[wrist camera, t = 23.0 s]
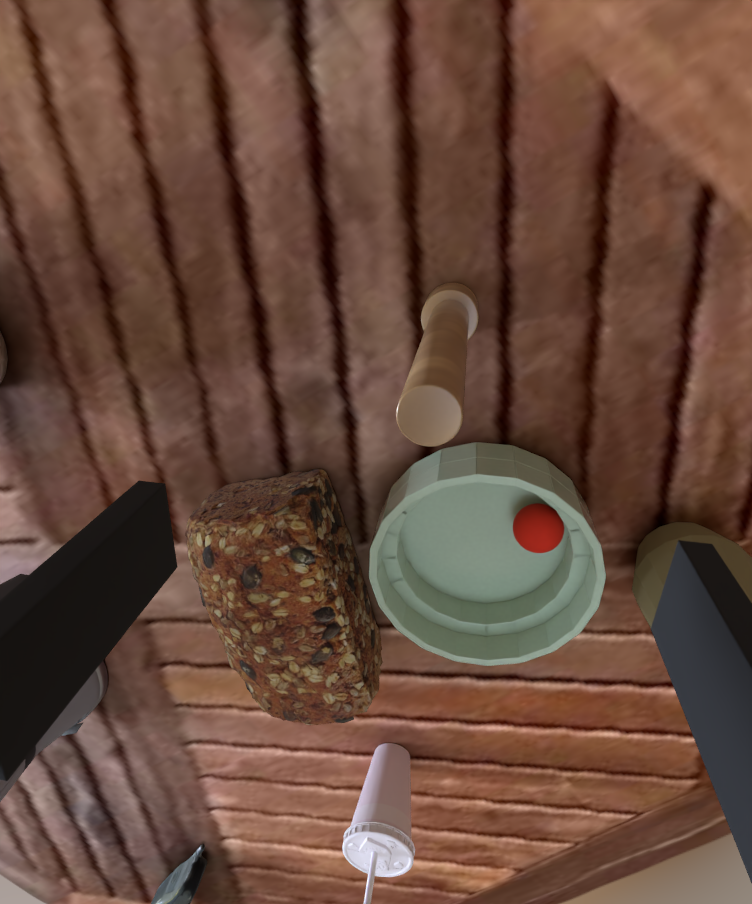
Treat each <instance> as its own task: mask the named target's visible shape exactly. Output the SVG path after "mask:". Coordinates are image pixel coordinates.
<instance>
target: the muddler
mask: <svg viewBox="0 0 752 904" xmlns="http://www.w3.org/2000/svg"><path fill="white" fill-rule="evenodd" d="M478 320H479V308H478V302H477V299H476V297H475V295H474V293H473V292H472V291H471V290H470V289H469V288H468V287H466V286H464V285H462V284H459V283H445V284H442V285H440V286H438V287H437V288H435V289H434V290H433V291H432V292H431V293H430V295H429V296H428V298H427V300H426V303H425V305H424V307H423V310H422V314H421V324H422V328H423V330H424V335H423V337H422V340H421V343H420V345H419V348H418V351H417V354H416V356H415V359H414V362H413V365H412V367H411V370H410V373H409V375H408V378H407V381H406V384H405V386H404V389H403V392H402V394H401V397H400V400H399V403H398V405H397V409H396V419H397V423H398V426H399V428H400V430H401V432H402V433H403V434H404V435H405V436H406V437H407V438H408V439H409V440H410V441H412V442H414V443H416V444H418V445H422V446H430V447H431V446H438V445H442V444H444V443H446V442H448V441H450V440H451V439H452V438H454V437H455V435H456V434H457V433H458V431H459V430H460V428H461V425H462V421H463V409H464V392H465V375H466V359H467V342H468V340H469V339H470V338H471V337H472V335H473V334H474V332H475V331H476V328H477V325H478Z"/></svg>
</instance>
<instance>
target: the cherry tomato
mask: <svg viewBox="0 0 752 904" xmlns="http://www.w3.org/2000/svg"><path fill="white" fill-rule="evenodd" d="M513 533H514V536H515V539H516V540H517V542H518V543H519V544H520V545H521V546H522V547H523V548H524V549H526V550H528V551H530V552H533V553H546V552H549V551H551V550H553V549H554V548H556V547H557V546H558V545H559V543H560V542H561V540H562V538H563V535H564V523H563V521H562V520H561V518H560V516H559V515H558V513H557V511H556V510H555V509H553V508H552V507H550V506H548V505H545V504H540V503H536V504H530V505H527V506H525V507H524V508H522V509H521V510H520V511H519V512H518V513H517V515H516V516H515V518H514V521H513Z"/></svg>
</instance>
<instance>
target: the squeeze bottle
mask: <svg viewBox="0 0 752 904" xmlns="http://www.w3.org/2000/svg"><path fill="white" fill-rule="evenodd" d="M678 540H681V541H690V542H699V543H708V544H713V546H714V547H715V549H716V550H717V552H718V553H719V555H720V556H721V558H722V559H723V561H724V562H725V564H726V565H727V567H728V568H729V570H730V571H731V573H732V574H733V576H734V577H735V579H736V580H737V582H738V583H739V585H740V586H741V588H742V589H743V591H744V592H745V594H746V595H747V597H748V598H749V600H750V601H751V603H752V558H751V557H750V556H749V555H748V554H747V553H746V552H745V551H744V550H743V549H742V548H741V547H740V546H739V545H738V544H736V543H735V542H733V541H731V540H729V539H727V538H725V537H723V536H721V535H719V534H717V533H715V532H714V531H712V530H710V529H708V528H705V527H703V526H700V525H698V524H695V523H692V522H674V523H670V524H667V525H663V526H660V527H658V528H657V529H655V530H654V531H652V532H651V533H649V534H648V535H646V537H645V538H644V539H643V541H642V542H641V544H640V545H639V547H638V552H637V558H636V565H635V572H634V579H633V586H632V590H633V593H634V596H635V598H636V601H637V604H638V606H639V608H640V610H641V611H642V613H643V615H644V617H645V618H646V620H647V622H648V624H649V626H650V627H651V626H652V623H653V620H654V617H655V613H656V610H657V607H658V604H659V601H660V597H661V594H662V591H663V588H664V584H665V581H666V578H667V575H668V572H669V568H670V565H671V562H672V559H673V555H674V552H675V549H676V546H677V543H678Z"/></svg>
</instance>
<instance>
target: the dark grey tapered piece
mask: <svg viewBox="0 0 752 904" xmlns="http://www.w3.org/2000/svg"><path fill="white" fill-rule="evenodd" d="M204 849H205V845H204V844H202V845H201V846H200V847H199V848H198V849H197V851H196V852H195V853H194V854H193V855H192V856H191V857H190V858H189V859H188V860H187V861H185V862H184V863H182V864H180V865H179V866H178V867H177V868H176V869H175V870H174V872H173V873H171V874H170V875H169V876H168V877H167V879H166V880H164V882H163V883H162V884H161V885H160V887H159V888H158V890H157V892H156V894H155V896H154V898H153V901H152V903H151V904H190V903H191V901H192V899H193V897H194V895H195V893H196V891H197V888H198V886H199V883H200V881H201V878H202V876H203V873H204V871H205V868H206V865H207V860H206V859H205V858H203V857H202V856H201V854H202V852H203V850H204Z"/></svg>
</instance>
